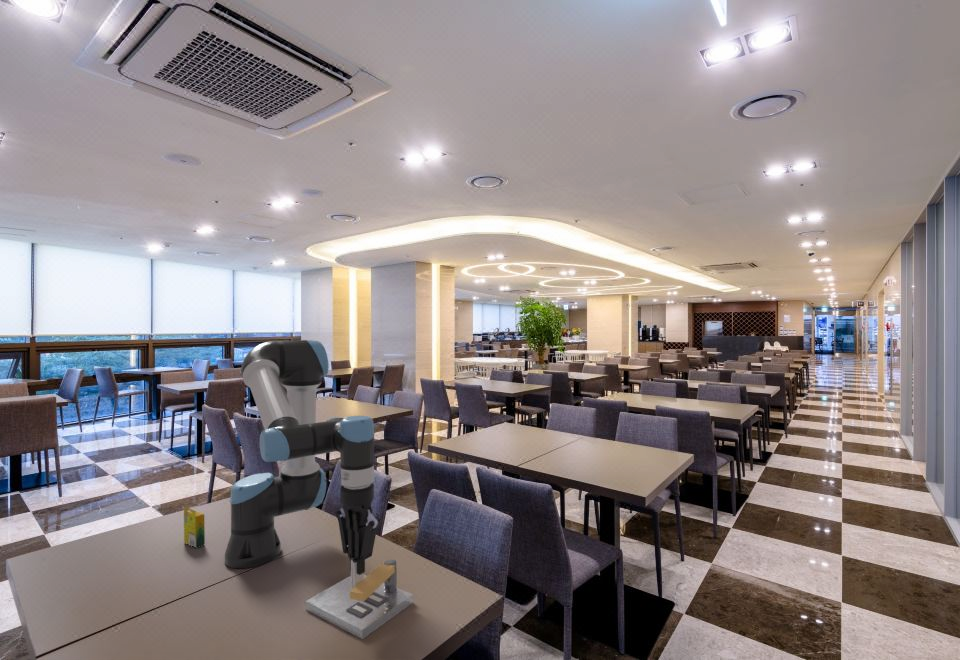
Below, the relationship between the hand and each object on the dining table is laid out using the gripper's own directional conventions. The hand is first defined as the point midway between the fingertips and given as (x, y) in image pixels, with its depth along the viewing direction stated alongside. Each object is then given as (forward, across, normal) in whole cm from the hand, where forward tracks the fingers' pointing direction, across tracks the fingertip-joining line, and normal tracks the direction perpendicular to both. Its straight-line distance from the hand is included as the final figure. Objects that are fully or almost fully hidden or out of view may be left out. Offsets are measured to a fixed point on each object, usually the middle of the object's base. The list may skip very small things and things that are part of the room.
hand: (357, 586), depth 106 cm
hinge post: (+8, 0, +10) cm, 13 cm away
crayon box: (+9, -75, -2) cm, 75 cm away
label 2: (+6, 0, +5) cm, 8 cm away
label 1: (+6, 0, 0) cm, 6 cm away
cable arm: (0, +2, +4) cm, 5 cm away
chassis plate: (+8, -4, +4) cm, 9 cm away
